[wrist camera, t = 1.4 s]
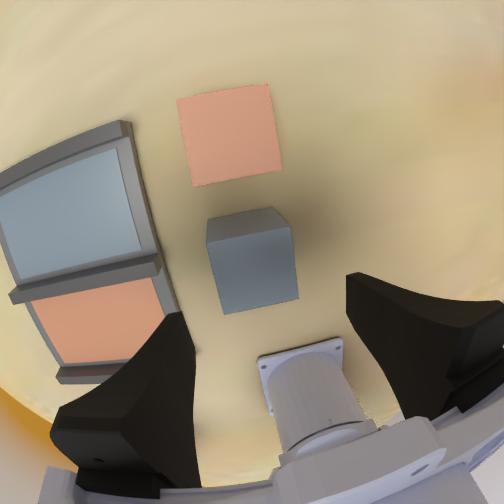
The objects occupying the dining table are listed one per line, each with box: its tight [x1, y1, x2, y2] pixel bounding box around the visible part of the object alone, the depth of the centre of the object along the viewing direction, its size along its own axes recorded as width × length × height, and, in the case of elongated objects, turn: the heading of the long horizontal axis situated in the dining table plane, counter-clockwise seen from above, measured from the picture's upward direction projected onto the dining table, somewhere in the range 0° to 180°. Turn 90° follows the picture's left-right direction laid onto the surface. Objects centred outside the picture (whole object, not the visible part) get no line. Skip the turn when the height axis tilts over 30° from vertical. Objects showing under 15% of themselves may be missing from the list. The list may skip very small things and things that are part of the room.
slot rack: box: [0, 120, 196, 384], centre depth 18 cm, size 19×14×2 cm
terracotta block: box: [176, 84, 283, 187], centre depth 15 cm, size 4×4×5 cm
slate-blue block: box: [206, 207, 299, 315], centre depth 18 cm, size 4×4×5 cm
